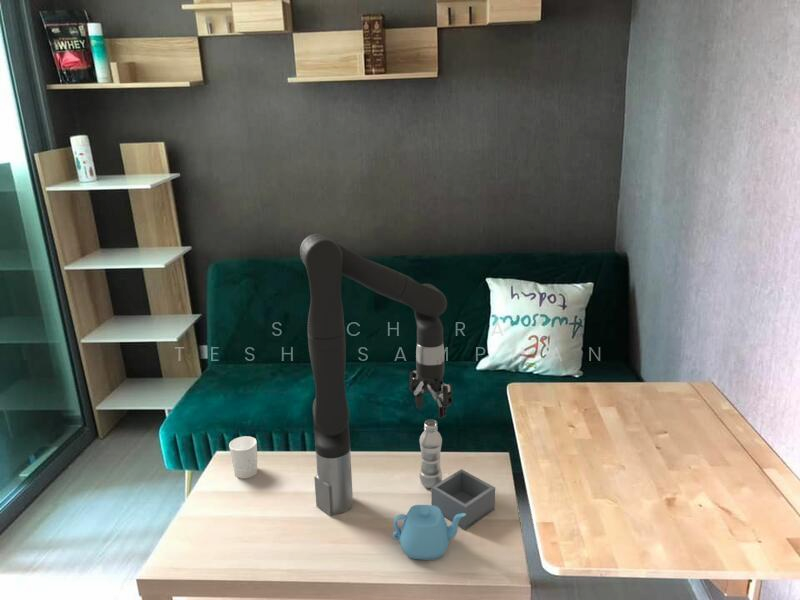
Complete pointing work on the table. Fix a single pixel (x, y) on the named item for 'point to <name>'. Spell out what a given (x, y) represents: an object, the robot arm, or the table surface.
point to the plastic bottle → (430, 455)
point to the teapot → (425, 532)
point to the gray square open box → (464, 498)
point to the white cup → (244, 456)
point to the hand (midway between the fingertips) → (430, 412)
